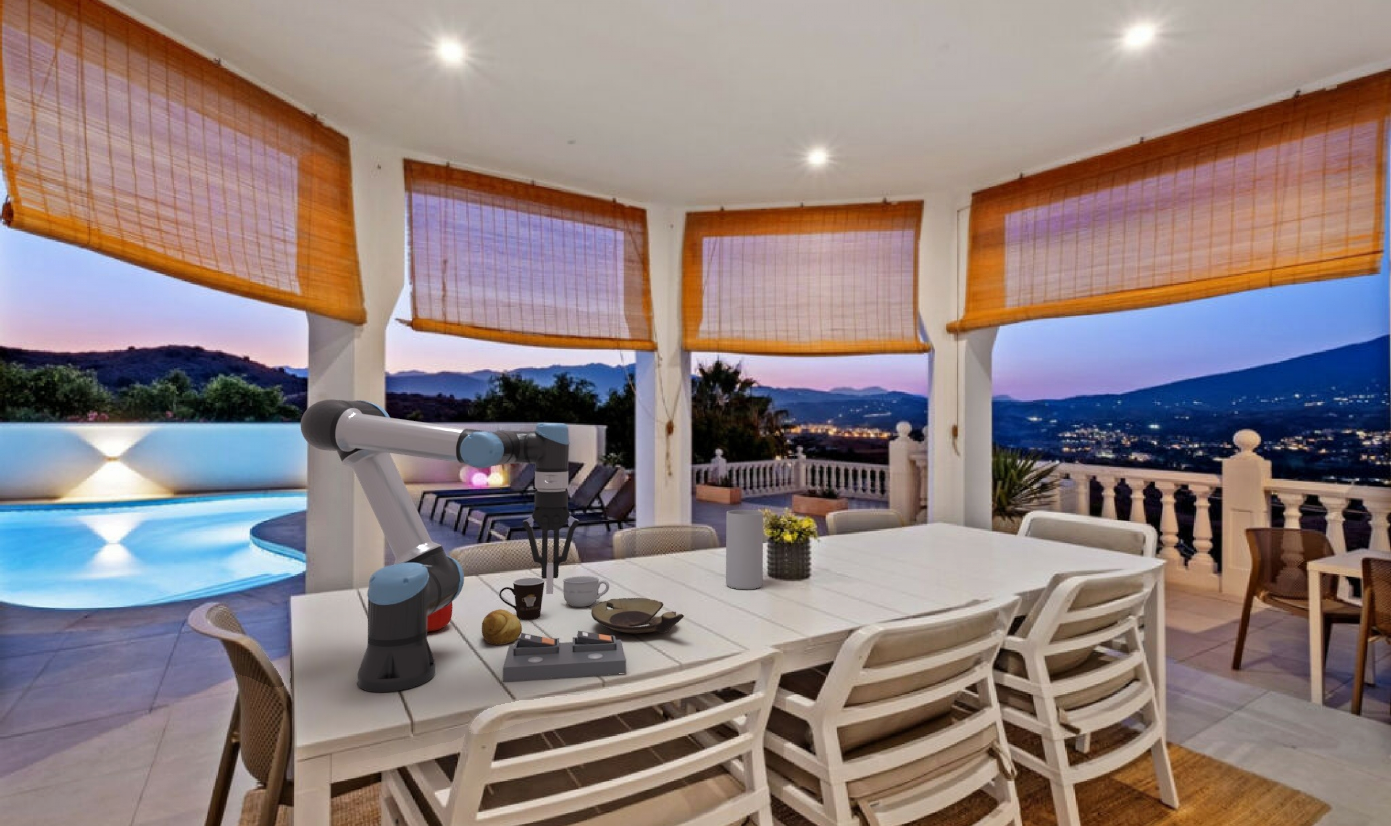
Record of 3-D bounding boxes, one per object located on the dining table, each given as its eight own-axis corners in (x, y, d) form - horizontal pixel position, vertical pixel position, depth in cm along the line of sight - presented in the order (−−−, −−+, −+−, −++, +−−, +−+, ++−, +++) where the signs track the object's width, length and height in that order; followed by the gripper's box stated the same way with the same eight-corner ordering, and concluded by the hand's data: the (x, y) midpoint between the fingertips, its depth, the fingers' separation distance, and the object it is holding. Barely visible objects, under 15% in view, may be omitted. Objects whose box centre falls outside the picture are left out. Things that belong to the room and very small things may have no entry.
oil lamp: (654, 611, 192) (655, 585, 192) (698, 643, 165) (699, 612, 165) (580, 620, 182) (580, 593, 182) (614, 655, 155) (614, 623, 155)
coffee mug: (548, 613, 189) (548, 578, 189) (538, 621, 180) (538, 585, 180) (509, 611, 190) (509, 577, 190) (497, 620, 181) (498, 584, 182)
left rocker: (518, 644, 147) (520, 638, 147) (520, 637, 151) (521, 632, 151) (553, 651, 148) (555, 645, 148) (554, 644, 152) (555, 639, 153)
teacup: (556, 607, 194) (556, 580, 194) (573, 598, 205) (573, 572, 205) (599, 612, 190) (599, 584, 190) (614, 602, 201) (614, 576, 201)
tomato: (451, 619, 182) (451, 581, 182) (453, 634, 169) (453, 593, 169) (397, 625, 176) (398, 586, 176) (395, 640, 164) (396, 598, 164)
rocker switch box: (502, 681, 138) (503, 660, 139) (508, 658, 152) (509, 639, 152) (625, 674, 143) (625, 653, 143) (620, 652, 157) (620, 633, 157)
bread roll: (478, 633, 170) (479, 602, 170) (517, 629, 174) (517, 599, 174) (483, 649, 158) (483, 616, 159) (524, 644, 162) (524, 612, 162)
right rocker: (577, 641, 149) (578, 636, 149) (577, 635, 153) (578, 630, 154) (611, 647, 151) (612, 641, 151) (610, 641, 155) (611, 635, 155)
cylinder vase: (769, 587, 221) (770, 513, 221) (739, 592, 214) (739, 515, 215) (748, 579, 231) (749, 509, 232) (718, 583, 225) (719, 511, 226)
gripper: (521, 491, 146) (519, 597, 145) (580, 491, 148) (578, 595, 148) (523, 488, 153) (521, 589, 153) (579, 488, 156) (578, 587, 155)
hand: (549, 592), depth 150 cm, fingers closed
